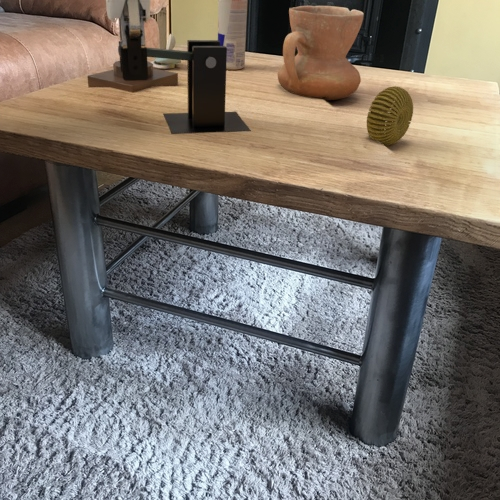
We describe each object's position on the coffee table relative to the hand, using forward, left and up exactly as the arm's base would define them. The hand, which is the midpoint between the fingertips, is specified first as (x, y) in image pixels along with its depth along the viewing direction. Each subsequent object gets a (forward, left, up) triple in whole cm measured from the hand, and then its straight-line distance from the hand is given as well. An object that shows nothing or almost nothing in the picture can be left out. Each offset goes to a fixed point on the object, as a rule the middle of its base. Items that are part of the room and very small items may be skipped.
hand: (134, 74), depth 74 cm
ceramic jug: (+35, -11, -8) cm, 37 cm away
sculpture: (+18, -30, -8) cm, 36 cm away
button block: (+18, +16, -8) cm, 25 cm away
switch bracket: (+7, -7, -8) cm, 12 cm away
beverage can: (+43, +12, -8) cm, 45 cm away
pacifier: (+34, +22, -8) cm, 41 cm away
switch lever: (+3, -3, +1) cm, 5 cm away
